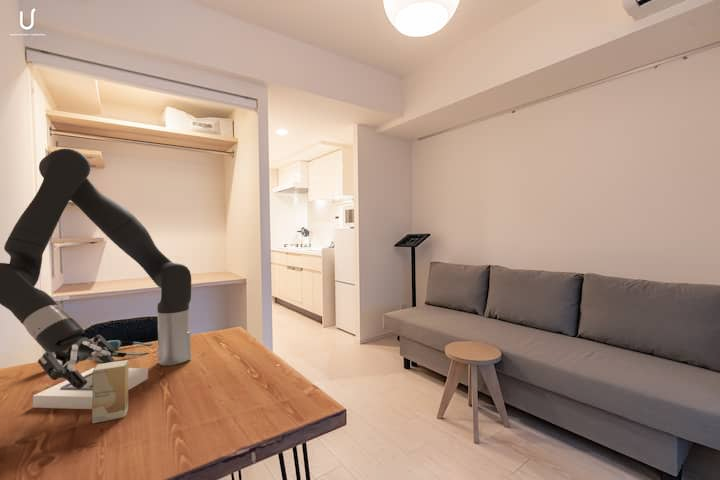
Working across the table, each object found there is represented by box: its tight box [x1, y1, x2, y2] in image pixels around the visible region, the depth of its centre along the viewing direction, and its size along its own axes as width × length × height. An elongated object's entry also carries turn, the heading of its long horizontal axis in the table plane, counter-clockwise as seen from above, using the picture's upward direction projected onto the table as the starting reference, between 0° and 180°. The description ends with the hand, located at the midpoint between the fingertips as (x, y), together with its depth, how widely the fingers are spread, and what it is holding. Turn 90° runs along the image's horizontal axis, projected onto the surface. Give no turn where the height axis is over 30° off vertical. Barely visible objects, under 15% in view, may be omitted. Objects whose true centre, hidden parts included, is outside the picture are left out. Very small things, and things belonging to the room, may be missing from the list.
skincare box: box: [91, 359, 130, 424], centre depth 75 cm, size 6×4×12 cm
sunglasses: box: [100, 339, 152, 358], centre depth 118 cm, size 14×15×5 cm
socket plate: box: [32, 367, 149, 410], centre depth 87 cm, size 17×17×3 cm
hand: (100, 377), depth 75 cm, fingers open, 8 cm apart
